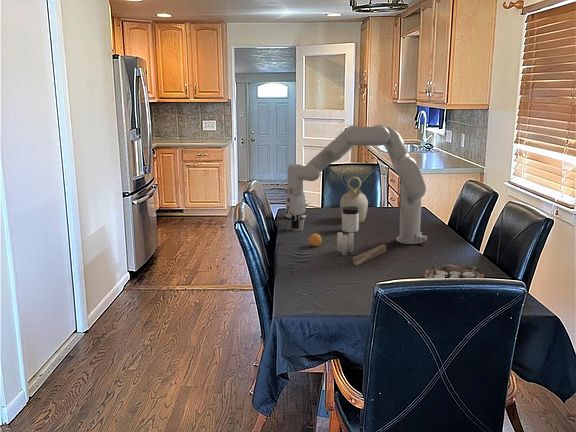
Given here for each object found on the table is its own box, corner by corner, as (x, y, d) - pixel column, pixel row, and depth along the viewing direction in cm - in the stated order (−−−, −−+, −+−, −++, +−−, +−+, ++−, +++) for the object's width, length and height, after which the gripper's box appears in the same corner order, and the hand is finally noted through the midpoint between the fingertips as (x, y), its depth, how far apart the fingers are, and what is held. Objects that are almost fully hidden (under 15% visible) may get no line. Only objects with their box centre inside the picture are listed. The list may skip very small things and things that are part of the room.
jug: (366, 223, 289) (367, 178, 283) (338, 223, 292) (338, 178, 286) (368, 217, 303) (369, 174, 298) (341, 216, 306) (341, 174, 301)
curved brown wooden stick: (386, 251, 238) (386, 245, 237) (356, 265, 220) (357, 258, 219) (382, 250, 239) (382, 244, 238) (352, 264, 221) (352, 257, 221)
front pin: (343, 251, 240) (343, 233, 238) (340, 252, 238) (340, 234, 236) (339, 250, 241) (339, 232, 239) (336, 251, 240) (336, 233, 238)
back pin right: (354, 251, 239) (354, 233, 237) (351, 252, 237) (351, 234, 235) (350, 250, 240) (350, 232, 239) (347, 251, 239) (347, 233, 237)
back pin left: (348, 254, 235) (348, 235, 233) (345, 255, 233) (345, 236, 232) (343, 253, 237) (343, 234, 235) (340, 254, 235) (340, 236, 233)
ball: (324, 245, 249) (324, 233, 248) (316, 248, 244) (316, 236, 243) (314, 243, 253) (313, 231, 251) (306, 246, 248) (306, 234, 247)
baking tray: (424, 270, 214) (424, 257, 213) (481, 273, 209) (481, 260, 208) (423, 297, 186) (423, 282, 185) (488, 301, 181) (489, 286, 179)
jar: (343, 232, 271) (343, 210, 268) (340, 228, 279) (340, 206, 276) (360, 231, 272) (361, 209, 270) (356, 228, 280) (356, 205, 277)
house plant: (314, 226, 285) (314, 196, 281) (313, 233, 272) (313, 202, 268) (288, 226, 286) (287, 196, 283) (285, 232, 273) (285, 201, 269)
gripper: (291, 193, 242) (291, 232, 246) (311, 189, 253) (310, 226, 257) (278, 192, 247) (279, 230, 251) (299, 187, 258) (298, 224, 262)
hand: (295, 228), depth 254 cm, fingers closed
